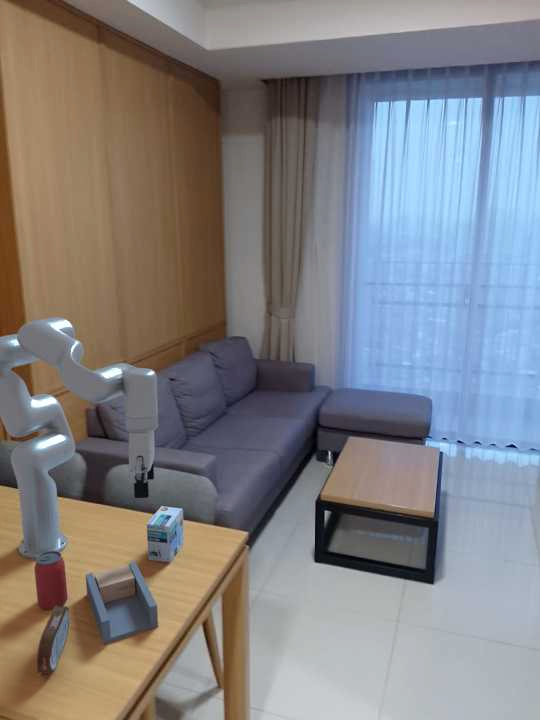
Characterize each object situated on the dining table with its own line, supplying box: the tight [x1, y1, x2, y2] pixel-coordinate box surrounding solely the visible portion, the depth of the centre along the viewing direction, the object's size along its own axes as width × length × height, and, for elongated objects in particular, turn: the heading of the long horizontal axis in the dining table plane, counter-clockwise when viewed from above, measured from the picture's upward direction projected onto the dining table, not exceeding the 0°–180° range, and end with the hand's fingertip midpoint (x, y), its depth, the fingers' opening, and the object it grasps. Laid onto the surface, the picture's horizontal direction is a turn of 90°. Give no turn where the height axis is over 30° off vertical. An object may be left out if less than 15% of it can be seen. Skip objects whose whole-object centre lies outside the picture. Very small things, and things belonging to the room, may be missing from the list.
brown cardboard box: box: [93, 564, 135, 603], centre depth 135 cm, size 6×8×4 cm
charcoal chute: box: [85, 561, 159, 645], centre depth 130 cm, size 19×12×6 cm, turn 28°
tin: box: [36, 605, 70, 674], centre depth 116 cm, size 15×3×8 cm, turn 5°
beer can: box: [34, 551, 68, 611], centre depth 132 cm, size 7×7×12 cm
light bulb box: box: [146, 505, 185, 563], centre depth 153 cm, size 11×7×11 cm, turn 168°
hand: (144, 488), depth 135 cm, fingers open, 9 cm apart
